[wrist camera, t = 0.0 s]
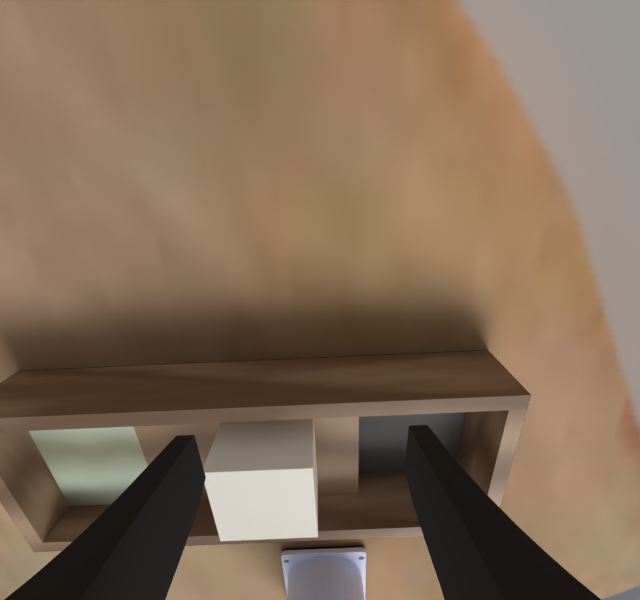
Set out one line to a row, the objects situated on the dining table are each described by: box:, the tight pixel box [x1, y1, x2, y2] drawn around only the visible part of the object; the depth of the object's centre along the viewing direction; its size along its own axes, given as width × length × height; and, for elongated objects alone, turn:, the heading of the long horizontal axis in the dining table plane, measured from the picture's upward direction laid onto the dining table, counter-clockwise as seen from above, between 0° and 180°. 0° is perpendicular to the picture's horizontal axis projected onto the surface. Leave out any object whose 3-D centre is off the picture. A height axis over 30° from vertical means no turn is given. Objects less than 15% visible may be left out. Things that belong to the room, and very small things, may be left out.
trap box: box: [0, 350, 531, 552], centre depth 21 cm, size 12×32×4 cm, turn 92°
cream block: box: [203, 419, 318, 541], centre depth 20 cm, size 6×6×4 cm
